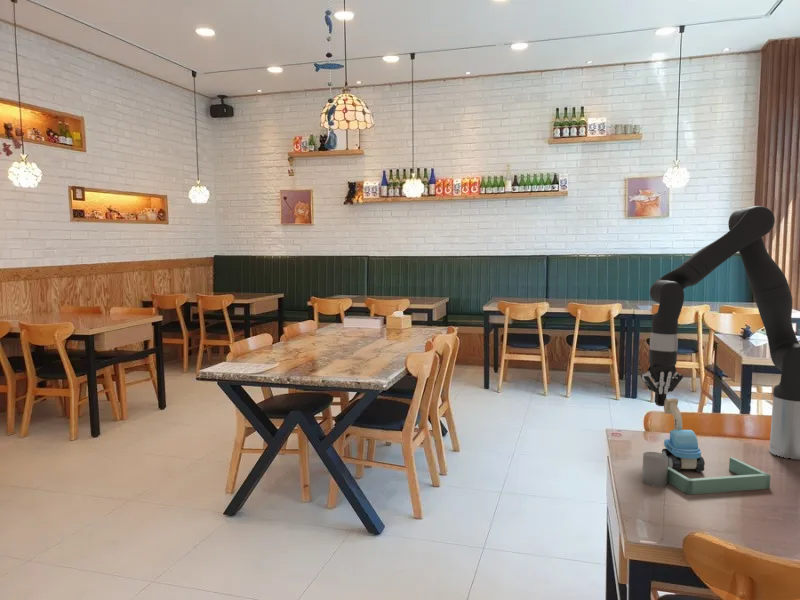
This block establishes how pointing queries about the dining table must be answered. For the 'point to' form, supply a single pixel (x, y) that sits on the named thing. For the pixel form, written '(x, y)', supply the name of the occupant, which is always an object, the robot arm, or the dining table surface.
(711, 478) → the bay
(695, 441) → the toy excavator
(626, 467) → the dining table surface
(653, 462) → the grey upright cylinder
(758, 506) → the dining table surface
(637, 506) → the dining table surface
